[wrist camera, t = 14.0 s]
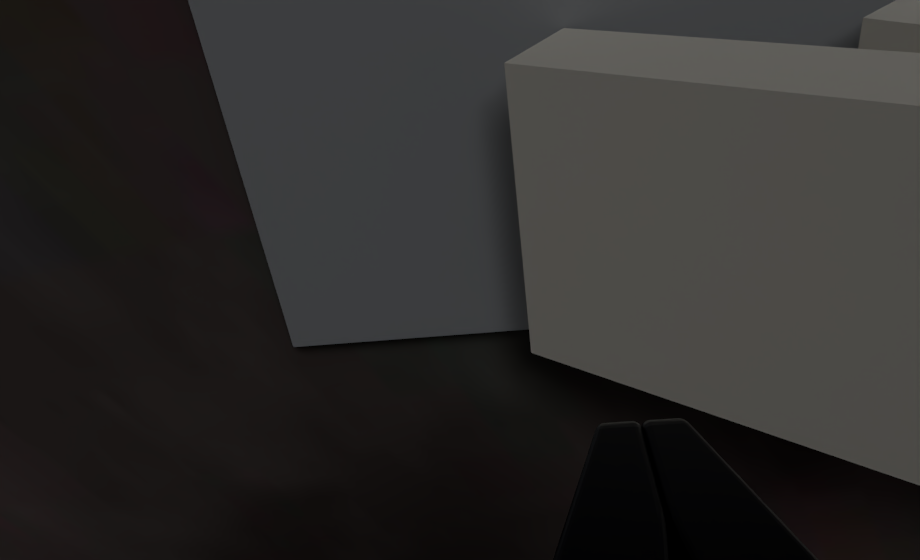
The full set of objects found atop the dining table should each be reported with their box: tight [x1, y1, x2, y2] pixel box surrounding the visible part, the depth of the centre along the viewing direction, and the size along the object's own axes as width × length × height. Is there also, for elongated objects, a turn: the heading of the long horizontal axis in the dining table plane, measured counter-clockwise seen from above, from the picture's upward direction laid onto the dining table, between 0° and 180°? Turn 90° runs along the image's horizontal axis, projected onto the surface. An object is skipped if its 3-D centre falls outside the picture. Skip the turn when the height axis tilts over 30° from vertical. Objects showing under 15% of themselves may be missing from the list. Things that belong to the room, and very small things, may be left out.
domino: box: [504, 28, 920, 485], centre depth 10 cm, size 2×5×9 cm
